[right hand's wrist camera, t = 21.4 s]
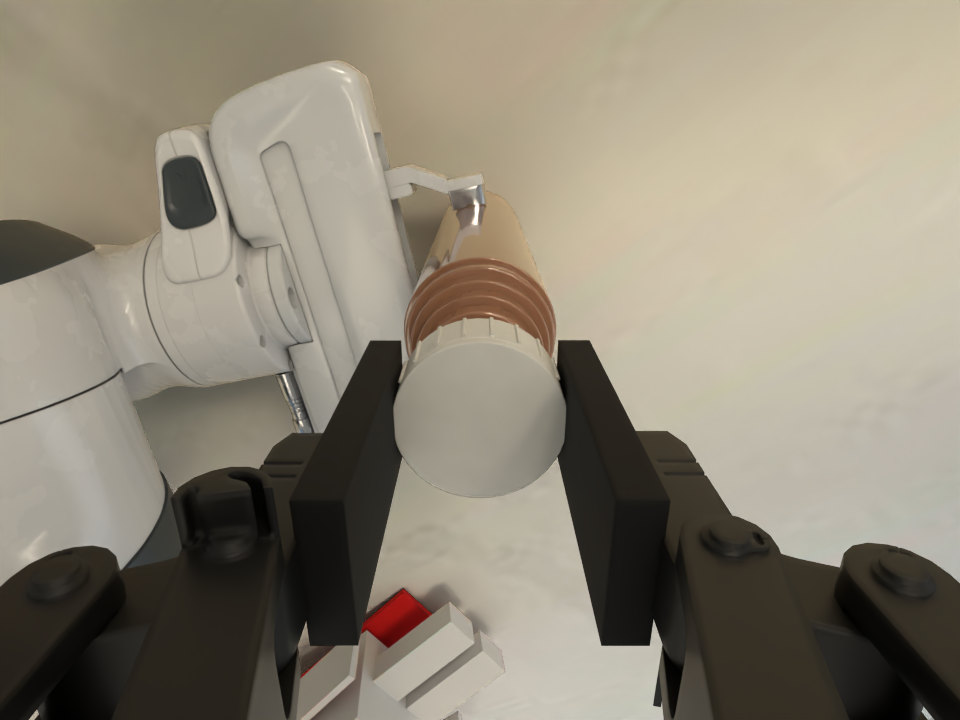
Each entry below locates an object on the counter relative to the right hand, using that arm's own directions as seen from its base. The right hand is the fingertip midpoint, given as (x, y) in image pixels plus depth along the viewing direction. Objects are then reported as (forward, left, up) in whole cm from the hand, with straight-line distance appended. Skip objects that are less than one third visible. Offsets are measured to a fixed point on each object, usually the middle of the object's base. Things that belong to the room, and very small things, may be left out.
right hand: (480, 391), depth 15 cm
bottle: (0, 0, -24) cm, 24 cm away
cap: (0, 0, +1) cm, 1 cm away
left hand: (0, +1, -18) cm, 18 cm away
